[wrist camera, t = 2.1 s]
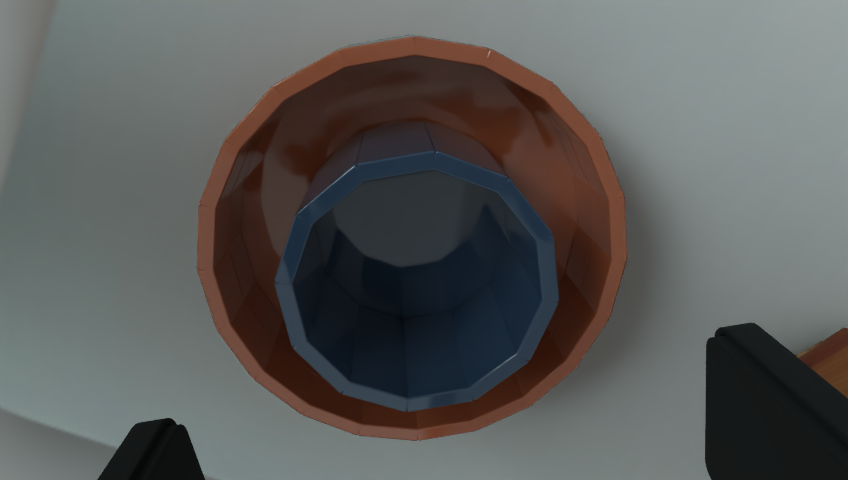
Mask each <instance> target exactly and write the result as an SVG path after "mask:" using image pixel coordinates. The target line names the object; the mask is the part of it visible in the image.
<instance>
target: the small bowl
mask: <svg viewBox="0 0 848 480" xmlns="http://www.w3.org/2000/svg"><path fill="white" fill-rule="evenodd" d="M274 281H275V284H274V285H275V288H276V292H277V296H278V299H279V303H280V307H281V310H282V314H283V318H284V321H285V325H286V328H287V332H288V336H289V339H290V343H291V346H293V349H294V350H295V351H296V352H297V353H298V354H299V355H300V356H301V357H302V358H303V359H304V360H305V361H306V362H307V363H308V364H310V365H311V366H312V367H313V368H314V369H315V370H316V371H317V372H318V373H319V374H320V375H321V376H322V377H323V378H324V379H325V380H326V381H328V382H329V383H330V384H331V385H332V386H333V387H334V388H335V389H336V390H337V391H338V392H339V393H341V392H342V394H343V395H346V396H350V397H353V398H357V399H360V400H364V401H367V402H371V403H375V404H378V405H382V406H385V407H389V408H392V409H396V410H399V411H403V412H406V411H408V412H413V411H418V410H424V409H430V408H436V407H442V406H448V405H454V404H459V403H465V402H471V401H473V399H474V400H476V399H478V398H479V397H480V396H482V395H483V394H485V393H486V392H488V391H489V390H490V389H492V388H493V387H495V386H496V385H497V384H499V383H500V382H502V381H503V380H504V379H506V378H507V377H509V376H510V375H512V374H513V373H514V372H516V371H517V370H519V369H520V368H521V367H523V366H524V365H526V364H527V363H528V360H531V358H532V356H533V354H534V352H535V350H536V348H537V346H538V344H539V342H540V340H541V338H542V336H543V334H544V332H545V330H546V328H547V326H548V324H549V322H550V320H551V318H552V316H553V314H554V312H555V310H556V308H557V306H558V301H559V289H558V278H557V266H556V254H555V243H554V236H553V233H552V231H551V230H550V228H549V227H548V226H547V225H546V223H545V222H544V221H543V220H542V218H541V217H540V216H539V214H538V213H537V212H536V211H535V209H534V208H533V207H532V205H531V204H530V203H529V202H528V200H527V199H526V198H525V196H524V195H523V194H522V193H521V191H520V190H519V189H518V188H517V186H516V185H515V184H514V182H513V181H512V180H511V179H510V177H509V176H508V175H507V174H506V172H505V171H504V170H503V169H502V168H501V166H500V165H499V164H498V163H497V161H496V160H495V159H494V158H493V157H492V155H491V154H490V153H489V152H488V150H487V149H486V148H485V147H484V146H483V144H482V143H480V142H479V141H477V140H474V139H472V138H469V137H467V136H465V135H463V134H461V133H459V132H457V131H455V130H452V129H450V128H447V127H443V126H440V125H436V124H432V123H429V122H427V121H425V122H423V121H419V122H402V123H393V124H389V125H385V126H380V127H377V128H375V129H372V130H366V131H364V132H361V133H360V134H359V135H358V136H357V137H355V138H354V139H352V140H351V141H349V142H348V143H347V144H345V145H344V146H343V147H341V148H340V149H339V150H338V151H337V152H336V153H335V154H334V155H333V156H332V157H331V158H330V159H329V160H328V161H327V162H326V163H325V164H324V165H322V166H321V167H320V168H319V169H318V171H317V172H316V174H315V176H314V178H313V180H312V182H311V184H310V186H309V188H308V190H307V192H306V194H305V196H304V198H303V200H302V202H301V204H300V206H299V209H298V211H297V213H296V215H295V217H294V220H293V223H292V226H291V229H290V233H289V236H288V239H287V242H286V245H285V248H284V251H283V254H282V257H281V260H280V264H279V267H278V270H277V273H276V276H275V279H274Z"/></svg>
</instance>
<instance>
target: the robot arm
mask: <svg viewBox="0 0 848 480" xmlns="http://www.w3.org/2000/svg"><path fill="white" fill-rule="evenodd" d="M705 462H706V467H707V470H708V473H709V476H710V478H711V480H848V398H847V397H846V396H844V395H843V394H842V393H841V392H839V391H838V390H837V389H836V388H834V387H833V386H832V385H831V384H829V383H828V382H827V381H826V380H825V379H823V378H822V377H821V376H820V375H818V374H817V373H816V372H815V371H813V370H812V369H811V368H810V367H809V366H807V365H806V364H805V363H804V362H802V361H801V360H800V359H799V358H797V357H796V356H795V355H794V354H793V353H791V352H790V351H789V350H788V349H786V348H785V347H784V346H783V345H781V344H780V343H779V342H778V341H777V340H775V339H774V338H773V337H772V336H770V335H769V334H768V333H767V332H765V331H764V330H763V329H762V328H761V327H759V326H758V325H756V324H755V323H746V324H739V325H733V326H727V327H721V328H719V329H717V331H716V333H715V337H712V338H709V339H708V341H707V345H706V429H705ZM98 480H205V478H204V475H203V473H202V470H201V467H200V464H199V462H198V459H197V456H196V454H195V451H194V448H193V445H192V443H191V440H190V437H189V434H188V432H187V430H186V427H185V426H184V425H181V424H179V425H177V424H176V422H175V421H174V420H173V419H171V418H165V419H159V420H153V421H146V422H140V423H137V424H135V425H134V426H133V427H132V428H131V430H130V432H129V433H128V435H127V436H126V438H125V439H124V441H123V442H122V444H121V445H120V447H119V448H118V450H117V451H116V453H115V454H114V456H113V457H112V459H111V460H110V462H109V463H108V465H107V466H106V468H105V469H104V471H103V472H102V474H101V475H100V477H99V478H98Z"/></svg>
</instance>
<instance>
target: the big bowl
mask: <svg viewBox="0 0 848 480" xmlns="http://www.w3.org/2000/svg"><path fill="white" fill-rule="evenodd" d="M419 121H423V122H425V121H427V122H429V123H432V124H436V125H440V126H443V127H447V128H450V129H452V130H455V131H457V132H459V133H461V134H463V135H465V136H467V137H469V138H472V139H474V140H477V141H479V142H480V143H482V144H483V146H484V147H485V148H486V149H487V150H488V152H489V153H490V154H491V155H492V157H493V158H494V159H495V160H496V161H497V163H498V164H499V165H500V166H501V168H502V169H503V170H504V171H505V172H506V174H507V175H508V176H509V177H510V179H511V180H512V181H513V182H514V184H515V185H516V186H517V188H518V189H519V190H520V191H521V193H522V194H523V195H524V196H525V198H526V199H527V200H528V202H529V203H530V204H531V205H532V207H533V208H534V209H535V211H536V212H537V213H538V214H539V216H540V217H541V218H542V220H543V221H544V222H545V223H546V225H547V226H548V227H549V228H550V230H551V231H552V233H553V236H554V243H555V254H556V266H557V278H558V289H559V301H558V306H557V308H556V310H555V312H554V314H553V316H552V318H551V320H550V322H549V324H548V326H547V328H546V330H545V332H544V334H543V336H542V338H541V340H540V342H539V344H538V346H537V348H536V350H535V352H534V354H533V356H532V358H531V360H528V363H527V364H526V365H524V366H523V367H521V368H520V369H519V370H517V371H516V372H514V373H513V374H512V375H510V376H509V377H507V378H506V379H504V380H503V381H502V382H500V383H499V384H497V385H496V386H495V387H493V388H492V389H490V390H489V391H488V392H486V393H485V394H483V395H482V396H480V397H479V398H478V399H476V400H474V399H473V401H471V402H465V403H459V404H454V405H448V406H442V407H436V408H430V409H424V410H418V411H413V412H408V411H406V412H403V411H399V410H396V409H392V408H389V407H385V406H382V405H378V404H375V403H371V402H367V401H364V400H360V399H357V398H353V397H350V396H346V395H343V394H342V392H341V393H339V392H338V391H337V390H336V389H335V388H334V387H333V386H332V385H331V384H330V383H329V382H328V381H326V380H325V379H324V378H323V377H322V376H321V375H320V374H319V373H318V372H317V371H316V370H315V369H314V368H313V367H312V366H311V365H310V364H308V363H307V362H306V361H305V360H304V359H303V358H302V357H301V356H300V355H299V354H298V353H297V352H296V351H295V350H294V349H293V346H291V343H290V339H289V336H288V332H287V328H286V325H285V321H284V318H283V314H282V310H281V307H280V303H279V299H278V296H277V292H276V288H275V285H274V284H275V281H274V279H275V276H276V273H277V270H278V267H279V264H280V260H281V257H282V254H283V251H284V248H285V245H286V242H287V239H288V236H289V233H290V229H291V226H292V223H293V220H294V217H295V215H296V213H297V211H298V209H299V206H300V204H301V202H302V200H303V198H304V196H305V194H306V192H307V190H308V188H309V186H310V184H311V182H312V180H313V178H314V176H315V174H316V172H317V171H318V169H319V168H320V167H321V166H322V165H324V164H325V163H326V162H327V161H328V160H329V159H330V158H331V157H332V156H333V155H334V154H335V153H336V152H337V151H338V150H339V149H340V148H341V147H343V146H344V145H345V144H347V143H348V142H349V141H351V140H352V139H354V138H355V137H357V136H358V135H359V134H360V133H361V132H364V131H366V130H372V129H375V128H377V127H380V126H385V125H389V124H393V123H402V122H419ZM626 259H627V242H626V217H625V197H624V194H623V191H622V189H621V186H620V184H619V181H618V179H617V176H616V174H615V171H614V169H613V166H612V164H611V161H610V159H609V156H608V153H607V151H606V148H605V146H604V143H603V141H602V138H601V137H600V136H599V133H598V132H597V131H596V130H595V129H594V128H593V127H592V125H591V124H590V123H589V122H588V121H587V120H586V119H585V118H584V116H583V115H582V114H581V113H580V112H579V111H578V110H577V109H576V107H575V106H574V105H573V104H572V103H571V102H570V101H569V100H568V98H567V97H566V96H565V95H564V94H563V93H562V92H561V91H560V89H559V88H558V87H557V86H556V85H554V84H553V83H552V82H551V81H549V80H547V79H545V78H543V77H542V76H540V75H538V74H536V73H534V72H532V71H531V70H529V69H527V68H525V67H523V66H521V65H520V64H518V63H516V62H514V61H512V60H510V59H509V58H507V57H505V56H503V55H501V54H500V53H498V52H496V51H494V50H492V49H489V48H486V47H481V46H476V45H470V44H464V43H458V42H452V41H446V40H440V39H434V38H428V37H422V36H416V35H405V36H399V37H393V38H387V39H380V40H375V41H369V42H364V43H358V44H352V45H348V46H345V47H343V48H340V49H338V50H336V51H334V52H332V53H330V54H329V55H327V56H325V57H323V58H321V59H320V60H318V61H316V62H314V63H312V64H310V65H309V66H307V67H305V68H303V69H301V70H300V71H298V72H296V73H294V74H292V75H290V76H289V77H287V78H285V79H283V80H281V81H280V82H278V83H276V84H274V86H272V87H271V88H270V89H269V90H268V91H267V92H266V93H265V94H264V96H263V97H262V98H261V99H260V100H259V101H258V102H257V103H256V105H255V106H254V107H253V108H252V109H251V110H250V111H249V112H248V114H247V115H246V116H245V117H244V118H243V119H242V120H241V121H240V123H239V124H238V125H237V126H236V127H235V128H234V129H233V130H232V132H231V133H230V134H229V135H228V136H227V137H226V139H225V141H224V142H223V144H222V147H221V149H220V152H219V154H218V157H217V159H216V162H215V164H214V167H213V169H212V172H211V174H210V177H209V179H208V182H207V184H206V187H205V189H204V192H203V194H202V197H201V200H200V204H199V210H198V246H197V269H198V274H199V277H200V280H201V283H202V286H203V289H204V292H205V295H206V299H207V302H208V305H209V308H210V311H211V314H212V317H213V320H214V323H215V326H216V329H217V331H218V332H219V334H220V335H221V336H222V338H223V339H224V340H225V342H226V343H227V344H228V346H229V347H230V348H231V350H232V351H233V353H234V354H235V355H236V357H237V358H238V359H239V361H240V362H241V363H242V365H243V366H244V367H245V369H246V370H247V371H248V373H249V374H250V376H251V377H252V378H254V380H255V381H257V382H258V383H259V384H261V385H262V386H263V387H265V388H266V389H267V390H269V391H270V392H271V393H273V394H274V395H276V396H277V397H278V398H280V399H281V400H282V401H284V402H285V403H286V404H288V405H289V406H291V407H292V408H293V409H295V410H296V411H297V412H299V413H300V414H302V415H304V416H306V417H309V418H312V419H315V420H317V421H320V422H323V423H325V424H328V425H331V426H334V427H336V428H339V429H342V430H344V431H347V432H350V433H352V434H355V435H359V436H369V437H380V438H391V439H402V440H413V441H417V439H418V440H419V441H420V440H426V439H432V438H437V437H443V436H449V435H455V434H461V433H467V432H472V431H476V430H479V429H481V428H484V427H486V426H488V425H490V424H492V423H495V422H497V421H499V420H501V419H503V418H506V417H508V416H510V415H512V414H514V413H517V412H519V411H521V410H523V409H525V408H527V407H529V406H530V405H533V404H534V403H535V402H536V401H538V400H539V399H540V398H541V397H542V396H543V395H545V394H546V393H547V392H548V391H549V390H551V389H552V388H553V387H554V386H555V385H557V384H558V383H559V382H560V381H561V380H563V379H564V378H565V377H566V376H567V375H569V374H570V373H571V372H572V371H573V370H575V369H576V367H577V366H578V365H579V363H580V362H581V360H582V359H583V357H584V356H585V354H586V353H587V351H588V350H589V348H590V347H591V345H592V344H593V342H594V341H595V339H596V338H597V336H598V335H599V333H600V332H601V330H602V329H603V327H604V326H605V324H606V323H607V321H608V320H609V317H610V316H611V312H612V309H613V305H614V302H615V299H616V295H617V292H618V288H619V285H620V281H621V278H622V275H623V271H624V268H625V264H626Z"/></svg>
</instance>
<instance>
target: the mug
mask: <svg viewBox="0 0 848 480" xmlns="http://www.w3.org/2000/svg"><path fill="white" fill-rule="evenodd" d="M796 357H797V358H799V359H800V360H801V361H802V362H804V363H805V364H806V365H807V366H809V367H810V368H811V369H812V370H813V371H815V372H816V373H817V374H818V375H820V376H821V377H822V378H823V379H825V380H826V381H827V382H828V383H829V384H831V385H832V386H833V387H834V388H836V389H837V390H838V391H839V392H841V393H842V394H843V395H844V396H846V397H847V398H848V328H843V329H841V330H839V331H838V332H836V333H835V334H833V335H832V336H830V337H829V338H827V339H826V340H824V341H821V342H819V343H818V344H816V345H814V346H812V347H810V348H808V349H807V350H805V351H803V352H801V353H799V354H798V355H796Z"/></svg>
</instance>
